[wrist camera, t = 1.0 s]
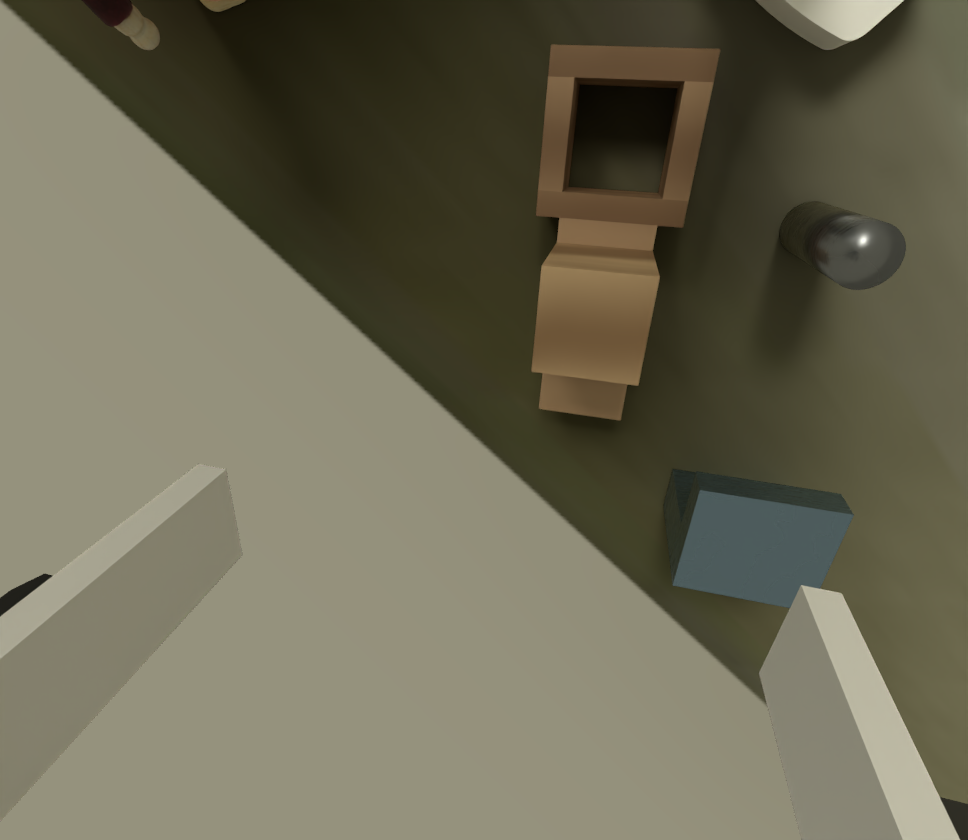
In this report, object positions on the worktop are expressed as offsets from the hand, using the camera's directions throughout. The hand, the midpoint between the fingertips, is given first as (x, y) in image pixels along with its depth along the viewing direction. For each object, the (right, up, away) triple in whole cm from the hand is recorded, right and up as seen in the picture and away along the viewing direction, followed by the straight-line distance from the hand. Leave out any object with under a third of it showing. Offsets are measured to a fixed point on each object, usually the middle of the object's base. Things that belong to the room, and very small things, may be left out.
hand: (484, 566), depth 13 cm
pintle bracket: (+14, +5, +14) cm, 20 cm away
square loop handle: (+6, +12, +13) cm, 18 cm away
